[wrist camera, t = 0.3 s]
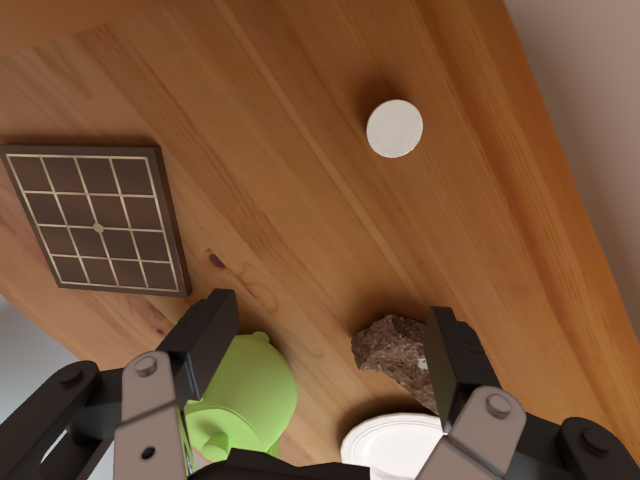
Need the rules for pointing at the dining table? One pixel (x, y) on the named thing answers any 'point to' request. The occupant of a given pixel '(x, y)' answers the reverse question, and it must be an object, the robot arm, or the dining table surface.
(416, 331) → the rock
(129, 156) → the board
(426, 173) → the dining table surface
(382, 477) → the plate
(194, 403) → the teapot
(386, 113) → the white cylindrical puck
